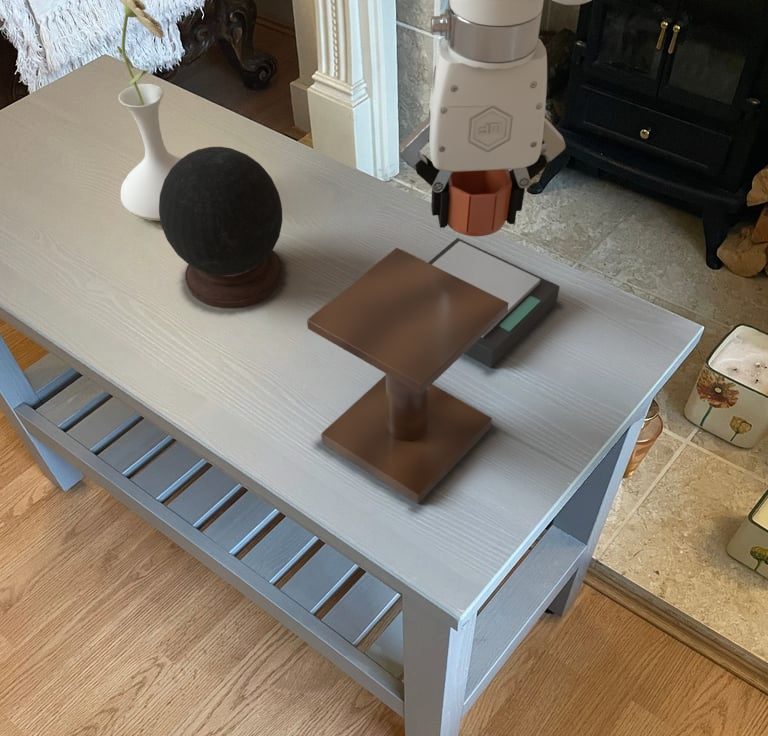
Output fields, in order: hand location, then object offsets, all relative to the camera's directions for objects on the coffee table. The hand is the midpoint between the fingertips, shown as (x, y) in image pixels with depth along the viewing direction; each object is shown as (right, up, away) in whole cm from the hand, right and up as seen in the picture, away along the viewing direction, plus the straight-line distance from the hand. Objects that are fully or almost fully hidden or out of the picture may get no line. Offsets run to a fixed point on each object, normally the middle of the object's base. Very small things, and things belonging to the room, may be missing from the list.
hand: (475, 216), depth 81 cm
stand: (-7, -22, -1) cm, 23 cm away
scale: (+1, -7, +9) cm, 12 cm away
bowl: (0, 0, 0) cm, 0 cm away
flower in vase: (-37, +10, +22) cm, 44 cm away
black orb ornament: (-27, -2, +13) cm, 30 cm away
